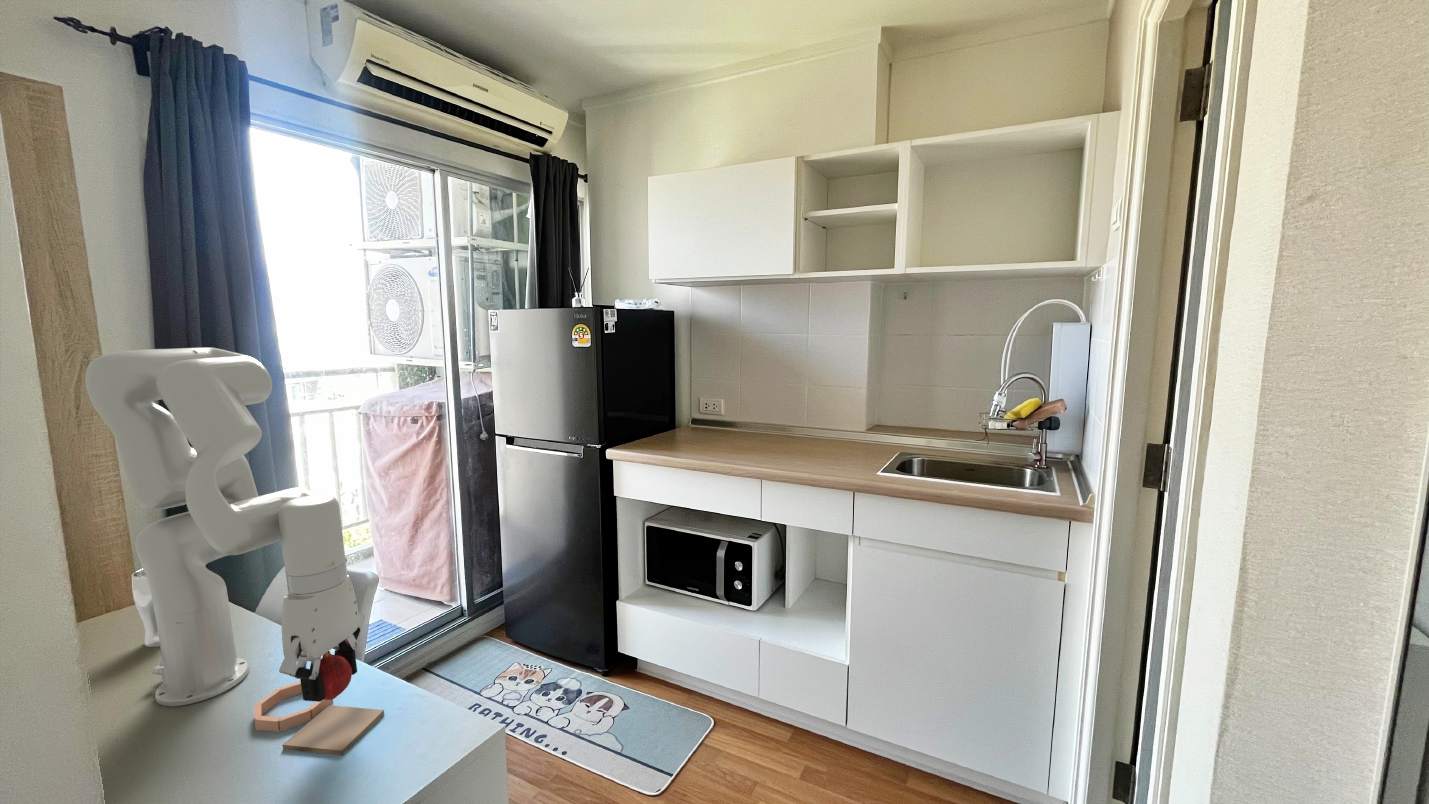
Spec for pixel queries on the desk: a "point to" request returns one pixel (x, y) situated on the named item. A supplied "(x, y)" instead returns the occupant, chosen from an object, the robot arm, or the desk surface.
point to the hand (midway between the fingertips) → (331, 685)
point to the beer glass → (145, 607)
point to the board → (334, 730)
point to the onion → (334, 675)
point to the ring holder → (289, 720)
